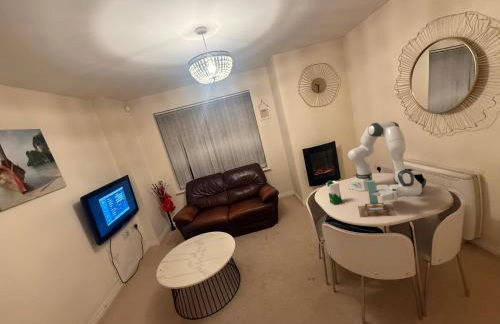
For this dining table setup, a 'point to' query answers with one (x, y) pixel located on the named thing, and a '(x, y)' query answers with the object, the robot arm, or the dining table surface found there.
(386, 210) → the offcut rack
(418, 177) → the coal bowl
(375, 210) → the grey offcut
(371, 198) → the teal slat
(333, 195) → the milk carton
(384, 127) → the robot arm
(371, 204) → the oak offcut
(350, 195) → the dining table surface
